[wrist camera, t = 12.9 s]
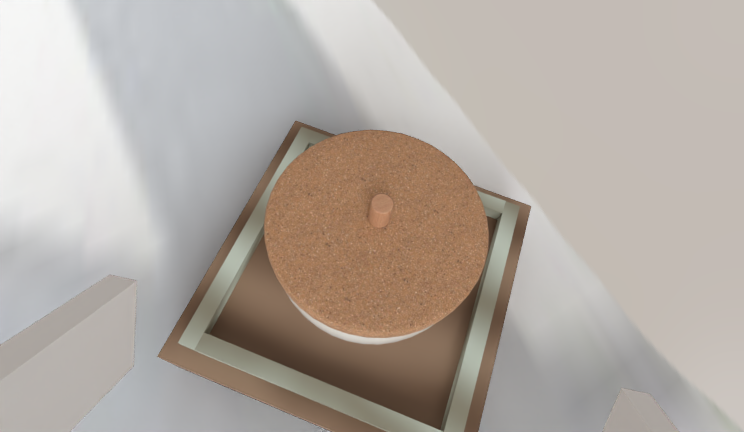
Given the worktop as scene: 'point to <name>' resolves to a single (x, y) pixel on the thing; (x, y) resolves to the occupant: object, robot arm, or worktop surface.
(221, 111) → the worktop surface
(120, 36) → the worktop surface
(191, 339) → the tray
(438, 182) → the lidded jar
